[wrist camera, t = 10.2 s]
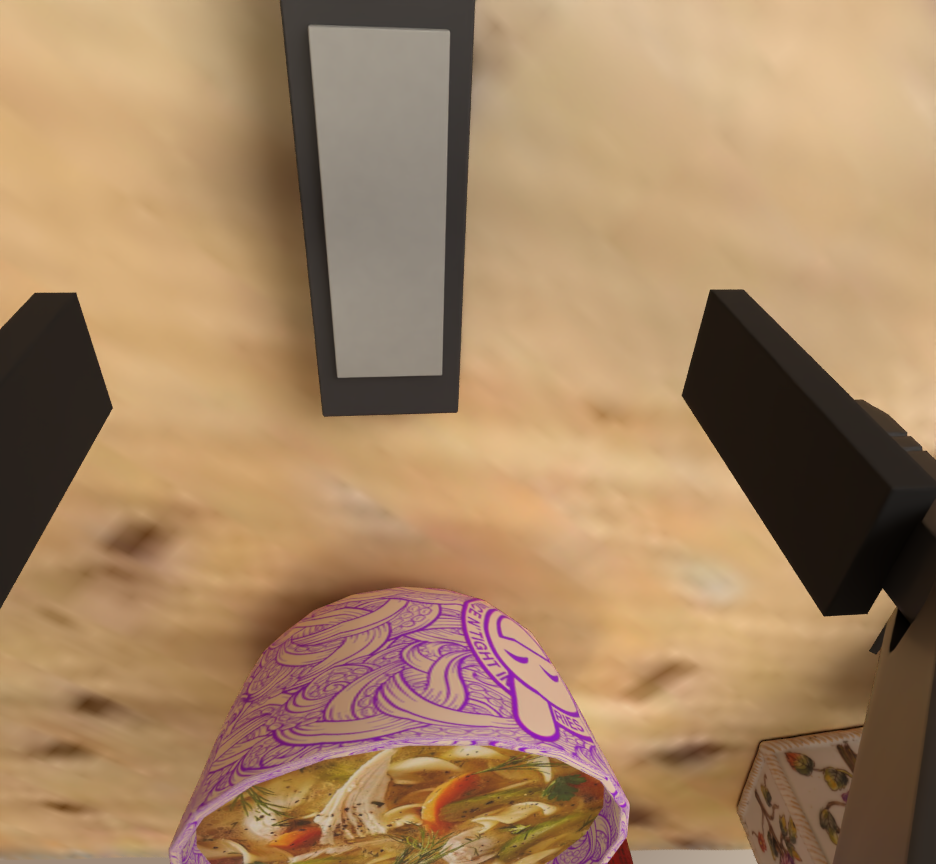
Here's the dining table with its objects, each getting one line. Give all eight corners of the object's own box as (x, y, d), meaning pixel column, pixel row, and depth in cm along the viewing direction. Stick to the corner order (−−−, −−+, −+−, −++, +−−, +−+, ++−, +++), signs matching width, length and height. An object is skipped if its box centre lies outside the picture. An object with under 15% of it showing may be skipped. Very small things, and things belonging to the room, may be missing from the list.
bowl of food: (596, 504, 35) (679, 717, 25) (548, 721, 46) (592, 920, 37) (183, 522, 32) (109, 764, 23) (244, 746, 44) (211, 965, 35)
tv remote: (451, 375, 29) (459, 419, 26) (326, 378, 28) (322, 423, 26) (469, -152, 19) (484, -163, 16) (274, -165, 18) (259, -178, 16)
